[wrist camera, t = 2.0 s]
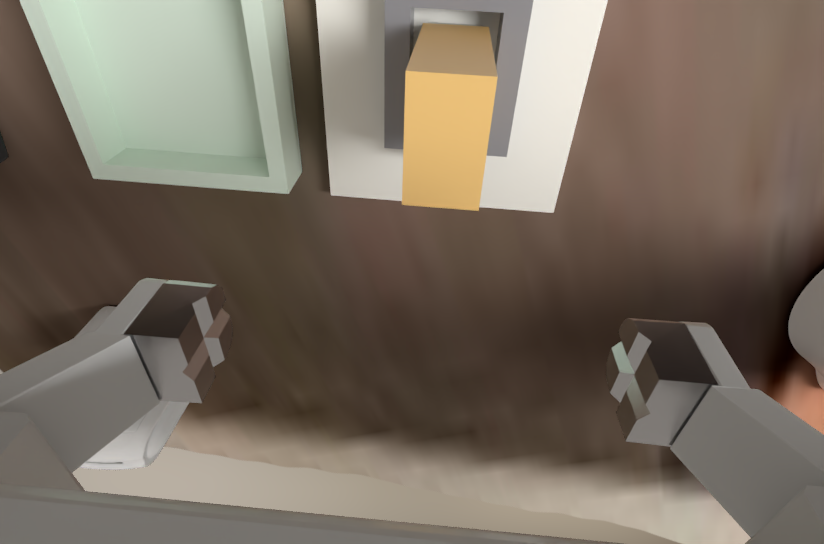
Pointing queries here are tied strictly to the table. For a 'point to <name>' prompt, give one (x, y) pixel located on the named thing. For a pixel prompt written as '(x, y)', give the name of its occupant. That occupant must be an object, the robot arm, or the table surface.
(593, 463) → the table surface
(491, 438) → the table surface
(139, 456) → the photo printer
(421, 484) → the table surface
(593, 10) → the panel
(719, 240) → the table surface
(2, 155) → the geiger counter
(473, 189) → the block
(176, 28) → the parts tray
